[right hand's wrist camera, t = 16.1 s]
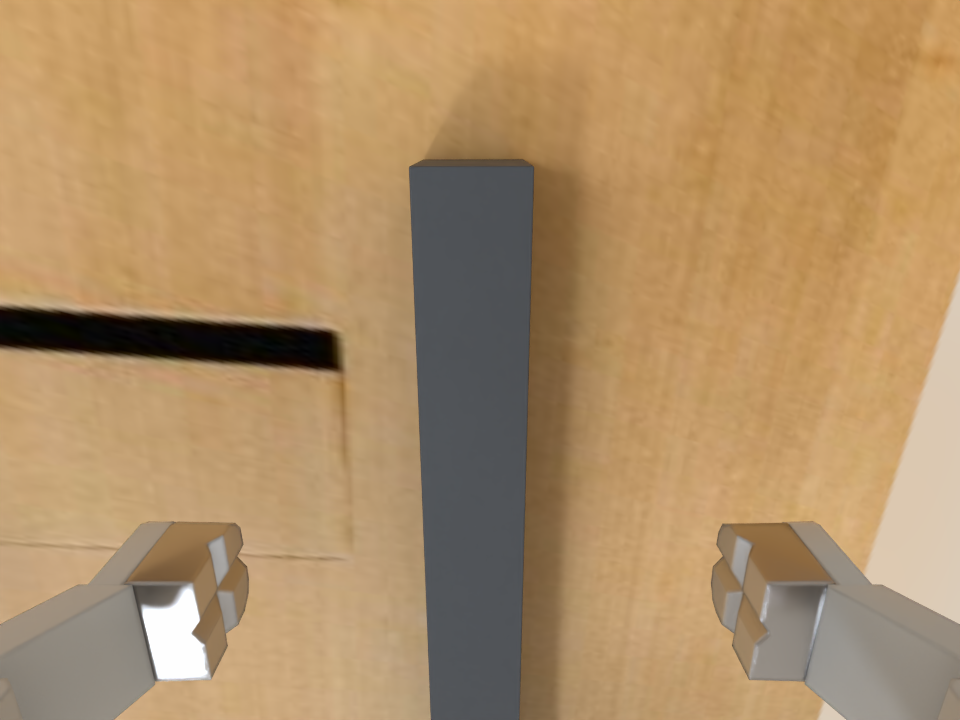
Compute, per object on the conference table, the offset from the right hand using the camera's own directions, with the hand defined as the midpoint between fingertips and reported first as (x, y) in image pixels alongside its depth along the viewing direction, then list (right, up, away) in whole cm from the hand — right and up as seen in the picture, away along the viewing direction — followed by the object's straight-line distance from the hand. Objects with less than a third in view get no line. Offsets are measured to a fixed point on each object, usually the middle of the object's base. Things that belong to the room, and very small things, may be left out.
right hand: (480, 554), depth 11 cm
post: (0, -16, +31) cm, 35 cm away
